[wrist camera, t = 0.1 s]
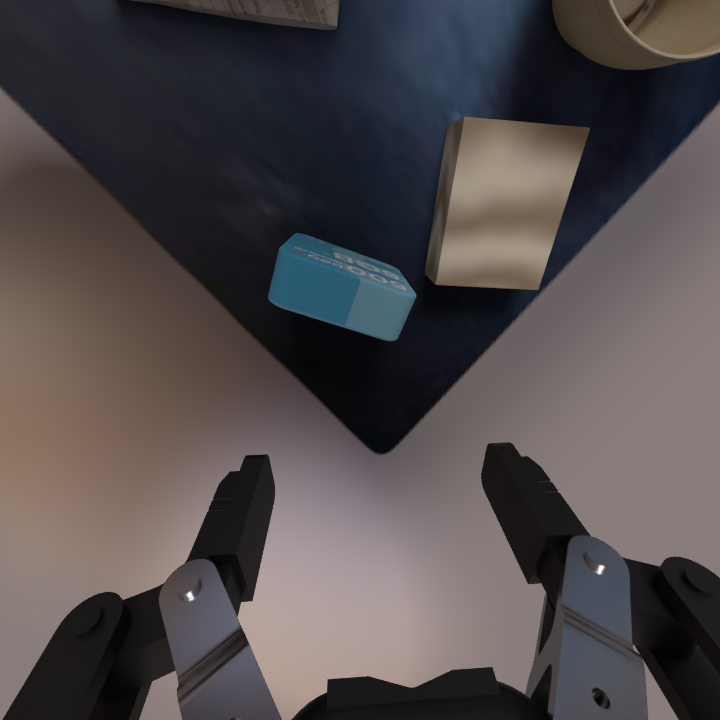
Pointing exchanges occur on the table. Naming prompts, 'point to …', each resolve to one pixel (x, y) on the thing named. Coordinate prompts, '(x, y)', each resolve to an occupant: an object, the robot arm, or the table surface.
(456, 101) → the table surface
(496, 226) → the stand
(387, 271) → the blue product box
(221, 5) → the packaged product
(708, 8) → the planter bowl
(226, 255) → the table surface
